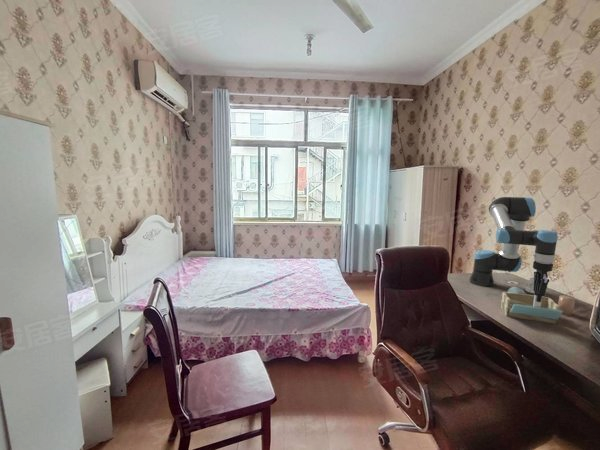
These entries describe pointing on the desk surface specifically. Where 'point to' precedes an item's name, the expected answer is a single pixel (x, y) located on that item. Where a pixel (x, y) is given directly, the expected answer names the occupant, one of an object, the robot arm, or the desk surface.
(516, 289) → the spool
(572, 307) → the brown egg
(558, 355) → the desk surface
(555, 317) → the cabinet door
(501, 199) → the robot arm
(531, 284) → the figurine
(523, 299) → the crate
